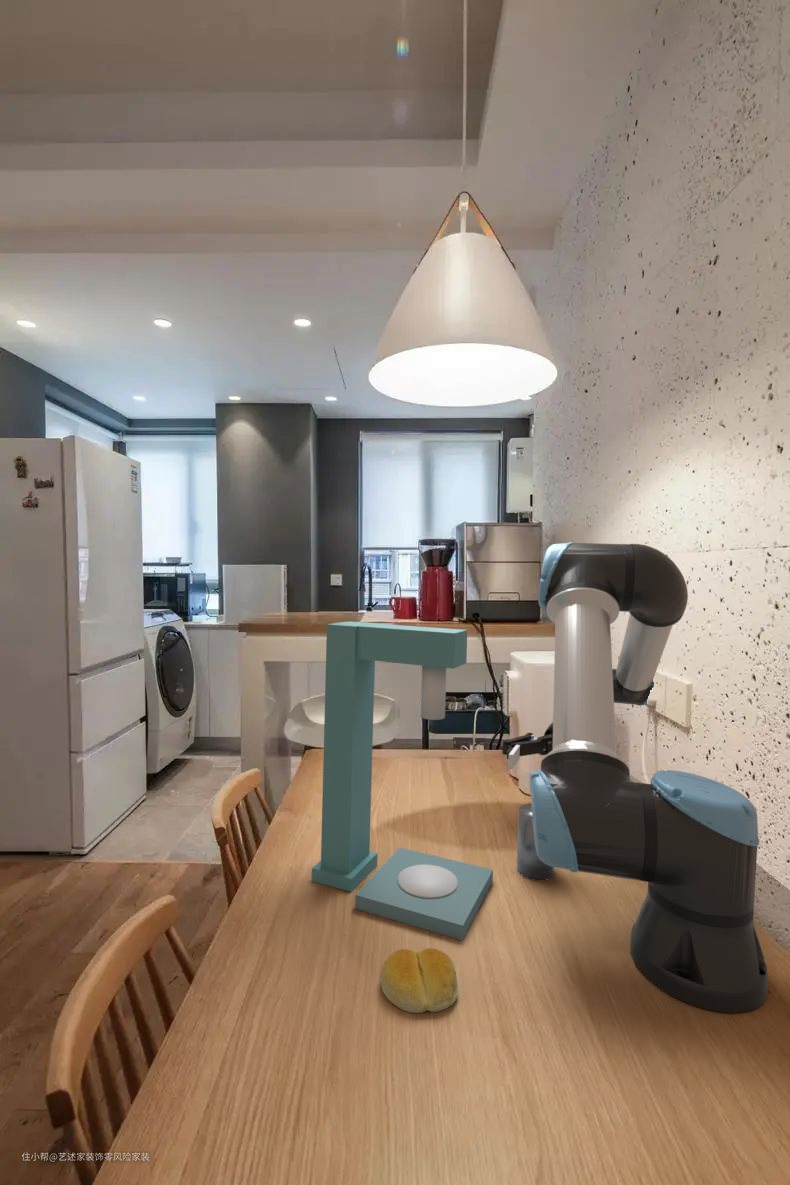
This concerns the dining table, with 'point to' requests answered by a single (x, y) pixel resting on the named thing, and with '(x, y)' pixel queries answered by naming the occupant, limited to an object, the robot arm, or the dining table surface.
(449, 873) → the arbor press
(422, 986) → the bread roll
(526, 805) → the cylinder
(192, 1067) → the dining table surface
